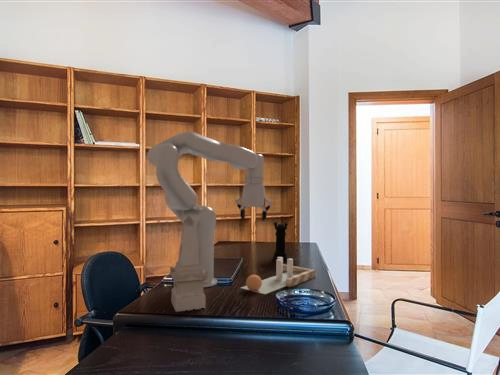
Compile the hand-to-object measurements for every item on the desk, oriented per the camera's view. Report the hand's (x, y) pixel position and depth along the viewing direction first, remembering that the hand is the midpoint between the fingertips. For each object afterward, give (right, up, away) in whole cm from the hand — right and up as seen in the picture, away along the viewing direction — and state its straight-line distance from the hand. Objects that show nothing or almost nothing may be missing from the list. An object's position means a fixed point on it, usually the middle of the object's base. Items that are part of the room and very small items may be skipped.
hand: (253, 219), depth 158 cm
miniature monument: (-22, -25, -41) cm, 53 cm away
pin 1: (+11, -25, -6) cm, 28 cm away
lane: (+10, -25, -12) cm, 29 cm away
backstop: (+14, -25, -5) cm, 29 cm away
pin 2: (+15, -25, -9) cm, 31 cm away
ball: (0, -22, -24) cm, 33 cm away
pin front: (+11, -25, -11) cm, 29 cm away
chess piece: (+15, -25, +32) cm, 43 cm away
